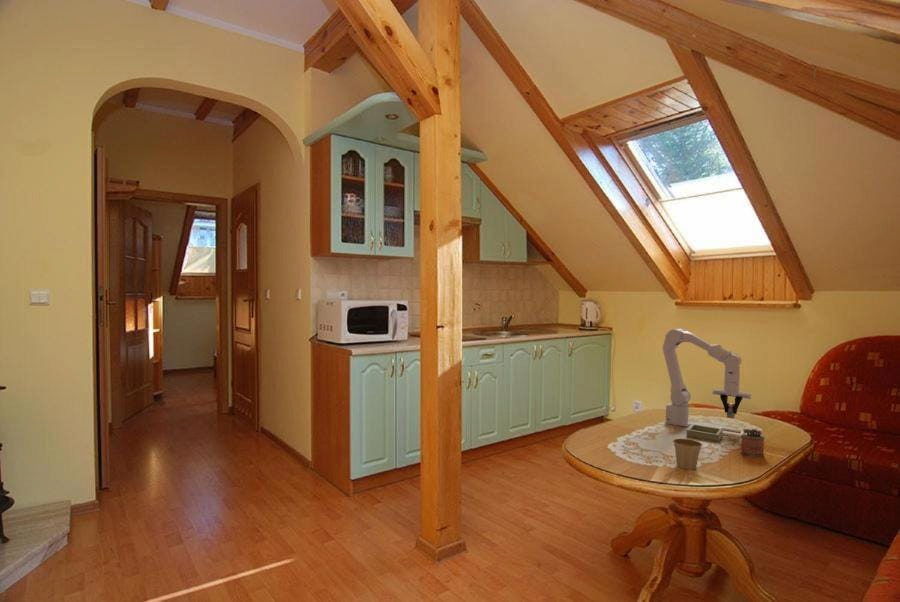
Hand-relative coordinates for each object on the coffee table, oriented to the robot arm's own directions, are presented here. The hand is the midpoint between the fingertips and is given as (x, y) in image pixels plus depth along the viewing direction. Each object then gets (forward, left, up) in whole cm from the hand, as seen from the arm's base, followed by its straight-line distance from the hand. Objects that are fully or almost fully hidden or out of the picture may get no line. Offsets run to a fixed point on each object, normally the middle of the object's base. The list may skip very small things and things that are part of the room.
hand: (730, 412), depth 223 cm
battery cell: (0, 0, -2) cm, 2 cm away
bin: (-8, -13, -9) cm, 18 cm away
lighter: (+11, -30, -9) cm, 33 cm away
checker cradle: (0, 0, -9) cm, 9 cm away
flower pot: (-6, -60, -9) cm, 61 cm away
